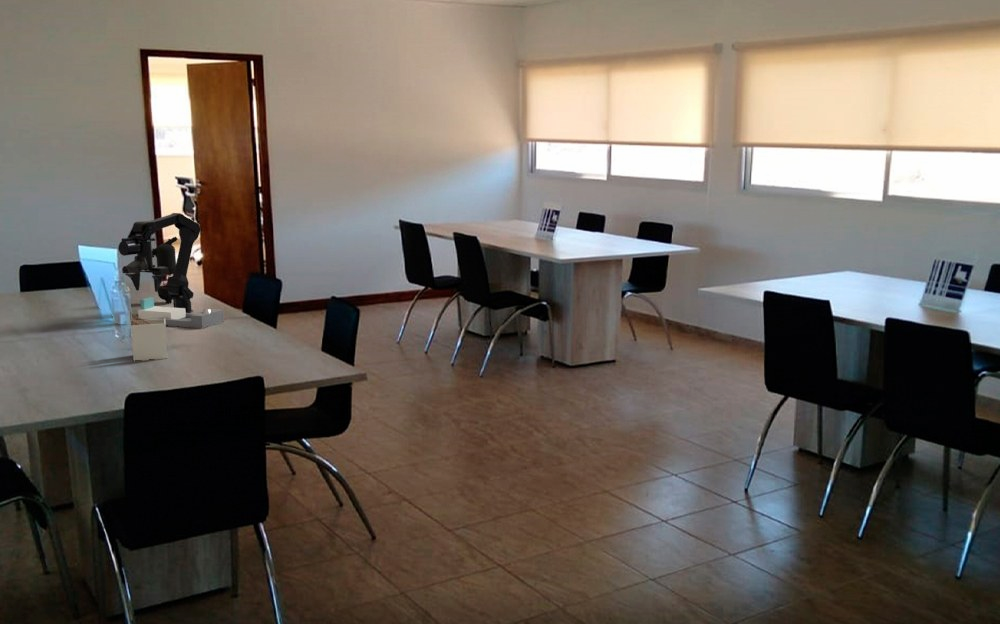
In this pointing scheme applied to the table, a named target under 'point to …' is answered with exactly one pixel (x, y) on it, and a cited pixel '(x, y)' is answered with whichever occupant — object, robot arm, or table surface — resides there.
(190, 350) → the table surface
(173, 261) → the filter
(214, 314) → the filter housing
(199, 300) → the table surface
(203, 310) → the release plunger
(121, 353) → the table surface
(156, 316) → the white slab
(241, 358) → the table surface
